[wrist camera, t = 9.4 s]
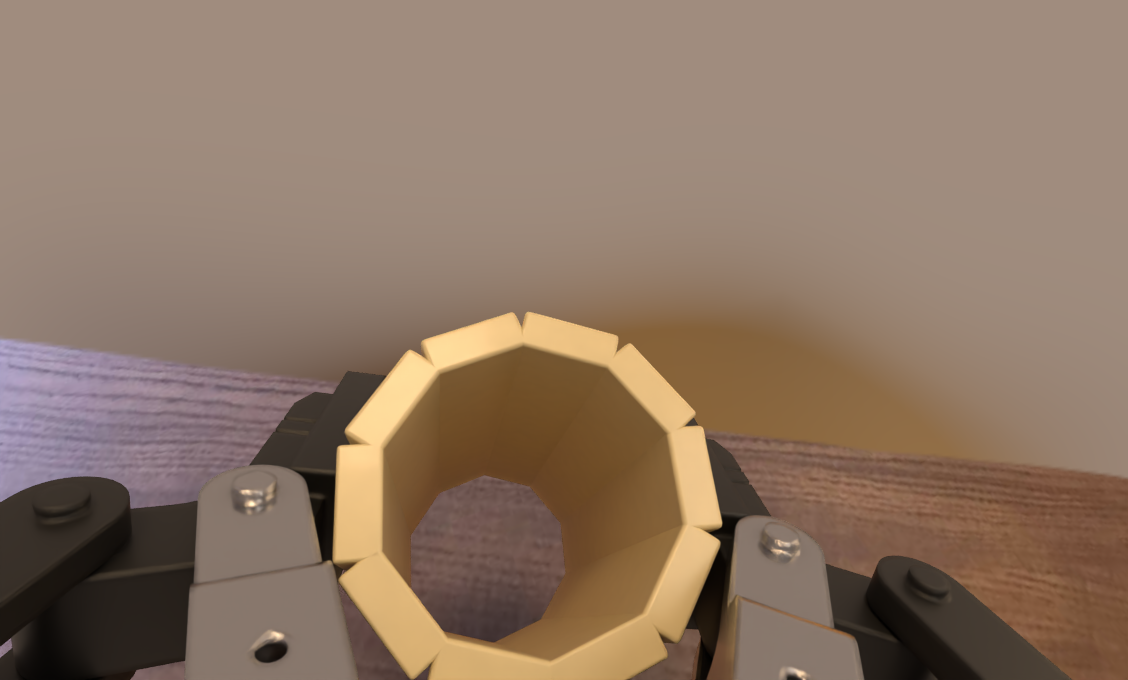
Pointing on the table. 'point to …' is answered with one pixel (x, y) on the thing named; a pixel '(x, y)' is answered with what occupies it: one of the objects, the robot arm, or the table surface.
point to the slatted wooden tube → (558, 477)
